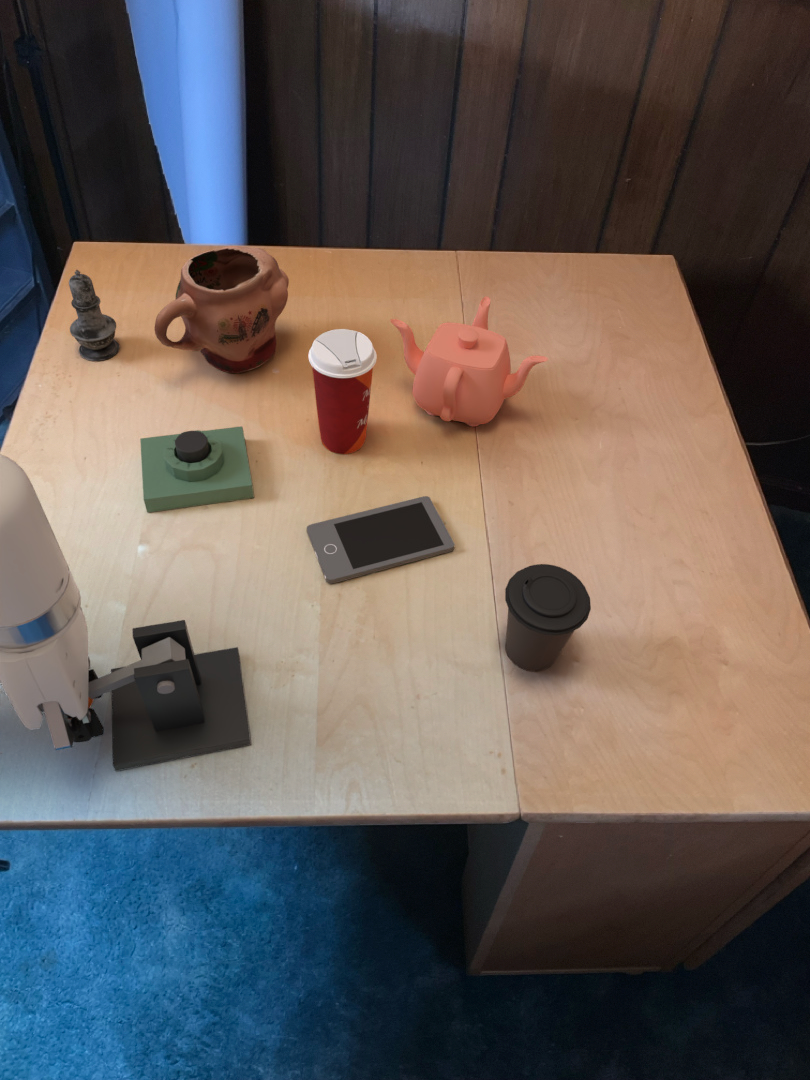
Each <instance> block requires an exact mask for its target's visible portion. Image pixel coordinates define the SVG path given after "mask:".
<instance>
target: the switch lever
mask: <svg viewBox="0 0 810 1080" xmlns="http://www.w3.org/2000/svg"><path fill="white" fill-rule="evenodd" d="M141 650H142V660H141V659H140V660H138V661H135V662H133V663H131V664H128V665H126V667H125V666H123V667H124V668H121V669H119V670H117V671H114V672H112V673H111V672H109V673H107V674H105V675H102V676H101V677H98V679H96V680H93V681H91V682H89V683H88V708H92V705H93V703H94V700H95V699H94V698H96V697H98V696H100V695H103V696H104V695H105V694H107V693H109V692H111V691H112V690H114V689H117V688H119V687H122V686H124V685H126V684H129V683H131V682H133V681H135V679H134V668H139V667H145V666H150V665H156V664H162V663H168V662H173V661H179V660H185V659H186V657H185V648H184V647H182V646H181V645H180V644H178V643H177V642H176V641H174V640H173V639H172V638H170V637H168V638H166V639H164V640H161V641H159V642H157V643H154V644H152V645H150V646H147V647H145V648H143V649H141Z"/></svg>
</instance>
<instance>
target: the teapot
mask: <svg viewBox="0 0 810 1080" xmlns="http://www.w3.org/2000/svg"><path fill="white" fill-rule="evenodd" d="M490 307H491V298H490V296H484V297H483V298H482V299H481V300H480V302H479V305H478V308H477V311H476V314H475V316H474V319H473V321H472V323H471V324H466V323H459V322H448V321H447V322H443V323H441V324H440V325H439V326H438V327H437V329H436V330H435V332H434V333H433V334H432V337H431V338H430V340H429V342H428V344H427V346H426V348H425V350H424V351H423V350H422V349H420V347H419V346H418V345H417V343H416V339H415V334H414V331H413V329H412V328H411V327H410V325H409V324H407V323H406V322H404V321H402V320H400V319H397V318H391V319H390V320H389V322H390V323H391V324H392V325H393V326H394V327H395V328H396V329H397V330H398V331H399V333H400V334H401V338H402V344H403V355H404V362H405V364H406V366H407V368H408V369H409V371H410V372H411V373H412V374H413V375H414V379H413V383H412V397H413V399H414V401H415V403H416V404H417V406H418V407H419V408H421V409H422V410H424V411H425V412H426V414H428V415H429V416H433V417H437V416H438V417H440V419H441V420H442V421H444V422H450V421H455V422H461V423H465V424H466V425H468V426H470V427H478V426H480V425H484V424H488V423H489V422H491V421H492V420H493V419H494V418H495V416H496V415H497V414H498V412H499V411H500V409H501V407H502V406H503V404H504V401H505V399H507V398H511V397H513V396H515V395H516V394H518V392H520V391H521V389H522V388H523V387H524V384H525V383H526V380H527V378H528V375H529V373H530V371H531V370H532V369H533V367H535V366H536V365H538V364H541V363H545V362H547V361H548V360H549V358H548V357H546V356H543V355H529V356H527V357H525V358H524V359H523V360H522V361H521V363H520V365H519V367H518V369H517V371H516V372H513V373H512V371H511V370H512V366H511V365H512V364H511V355H510V349H509V345H508V341H507V339H506V338H505V337H504V336H503V335H501V334H499V333H497V332H494V331H492V330H489V310H490Z"/></svg>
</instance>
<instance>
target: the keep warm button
mask: <svg viewBox="0 0 810 1080" xmlns="http://www.w3.org/2000/svg"><path fill="white" fill-rule="evenodd" d="M199 431H200V430H199ZM199 431H196V430H187V431H183V432H184V433H182V432H181V433H182V434H181V433H179V434H180V435H179V436H178V437H177V438H176V440H175V446H176V451H177V455H178V457H179V459H180V460H182V461H184V462H186V463H197V462H200V461H202V460H204V459H205V458H206V457H207V456H208V454H209V446H208V440H207V437H206V436H205V435H204V434H203V433H201V432H199Z"/></svg>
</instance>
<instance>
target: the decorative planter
mask: <svg viewBox="0 0 810 1080" xmlns="http://www.w3.org/2000/svg"><path fill="white" fill-rule="evenodd" d="M289 284H290V280H289V276H288V275H287V273H286V272H285V271H284V270H283V269H282V268H280V266H279V263H278V261H277V260H276V258H275V257H274V256H273V255H271V254H269V253H268V252H267V251H266V250H265V249H263V248H260V247H246V246H239V245H227V246H222V247H218V248H215V249H214V248H213V249H210V250H205V251H202V252H200V253H198V254H195V255H194V256H192V257H190V258H189V259H188V260H186V261H185V262H184V264H183V266H182V267H181V268H180V280H179V282H178V285H177V288H176V292H175V299H174V300H172V301H170V302H168V303H167V304H166V305H165V306H164V307H163V308H162V309H161V310H160V311H159V313H158V314H157V315H156V318H155V322H154V334H155V337H156V339H157V340H158V341H159V342H160V344H162V345H163V346H165V347H168V348H172V349H178V350H181V351H191V352H200V353H201V354H202V356H203V357H204V359H205V361H206V363H208V364H209V365H211V366H212V367H214V368H216V369H217V370H218V371H222V372H225V373H230V374H231V373H232V374H239V373H245V372H248V371H251V370H254V369H257V368H259V367H260V366H262V365H263V364H265V363H266V362H268V361H269V360H271V359H272V358H273V357H274V356H275V354H276V350H277V335H276V323H277V322H276V321H277V320H278V318H279V317H280V316H281V314H282V313H283V311H284V309H285V307H286V306H287V302H288V298H289V291H288V289H289ZM180 317H181V319H182V321H183V324H184V333H183V336H182V337H181V338H180V339H179V340H176V341H172V340H171V339H169V338H168V336H167V334H168V328H169V326H170V325H171V324H172V322H174V320H176V319H178V318H180Z"/></svg>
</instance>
